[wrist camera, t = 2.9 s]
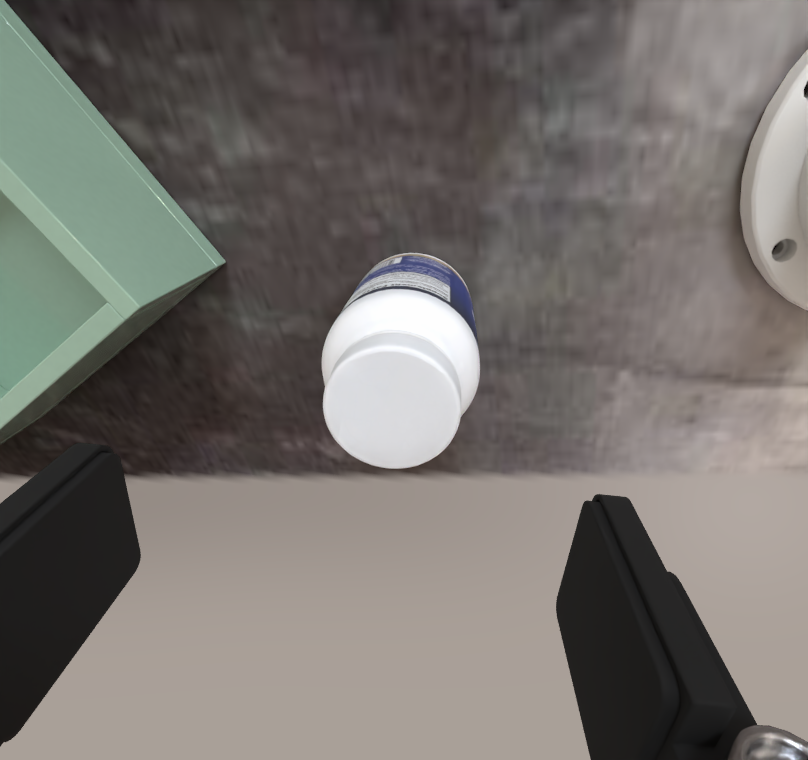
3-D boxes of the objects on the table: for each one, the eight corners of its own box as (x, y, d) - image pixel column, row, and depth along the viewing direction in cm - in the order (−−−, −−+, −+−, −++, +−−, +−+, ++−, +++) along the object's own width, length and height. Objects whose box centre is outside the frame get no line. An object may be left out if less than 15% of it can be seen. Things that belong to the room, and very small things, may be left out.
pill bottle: (462, 370, 24) (468, 502, 15) (352, 355, 24) (295, 477, 15) (482, 258, 22) (503, 337, 13) (360, 242, 22) (298, 309, 13)
